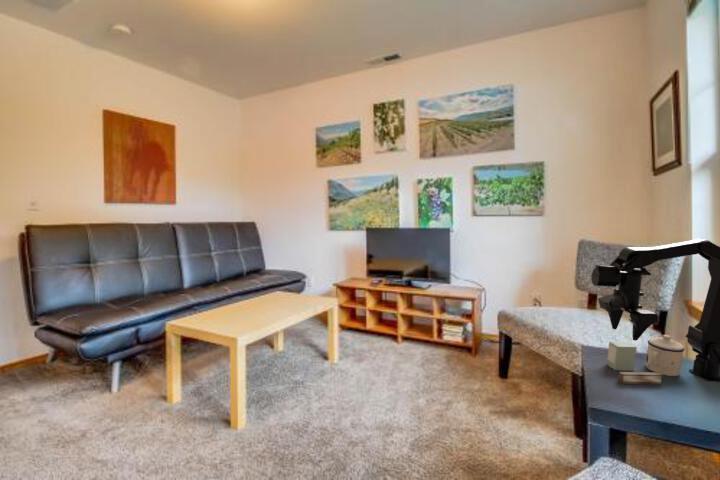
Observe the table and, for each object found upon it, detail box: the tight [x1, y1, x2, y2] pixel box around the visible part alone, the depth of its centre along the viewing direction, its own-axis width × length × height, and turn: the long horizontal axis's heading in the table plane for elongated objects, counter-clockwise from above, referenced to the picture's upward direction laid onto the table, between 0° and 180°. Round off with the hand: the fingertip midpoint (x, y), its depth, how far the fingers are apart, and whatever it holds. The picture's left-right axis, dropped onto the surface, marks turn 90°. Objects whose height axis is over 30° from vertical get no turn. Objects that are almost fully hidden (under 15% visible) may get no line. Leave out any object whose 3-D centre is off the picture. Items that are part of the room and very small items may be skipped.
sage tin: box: [606, 341, 637, 372], centre depth 119 cm, size 4×6×8 cm, turn 90°
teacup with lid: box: [645, 334, 685, 377], centre depth 117 cm, size 12×9×12 cm
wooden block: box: [617, 371, 663, 385], centre depth 110 cm, size 12×2×3 cm, turn 90°
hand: (624, 334), depth 118 cm, fingers open, 9 cm apart
